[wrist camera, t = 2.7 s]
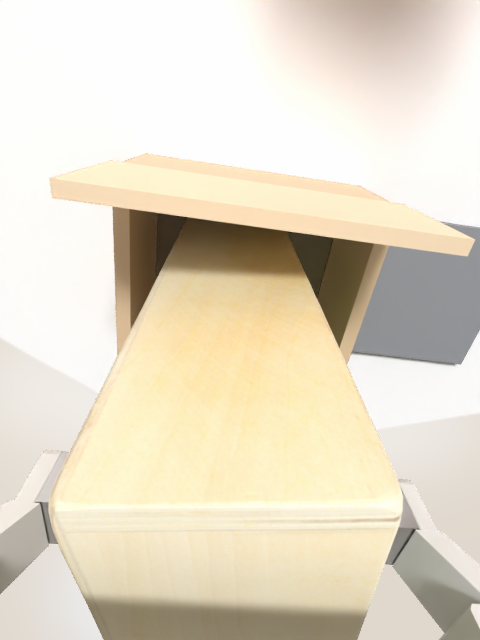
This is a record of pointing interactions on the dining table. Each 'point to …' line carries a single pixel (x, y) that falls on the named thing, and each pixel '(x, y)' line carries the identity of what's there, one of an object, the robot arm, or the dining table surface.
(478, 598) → the robot arm
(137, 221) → the carton
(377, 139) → the dining table surface
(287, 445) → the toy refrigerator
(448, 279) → the mat
